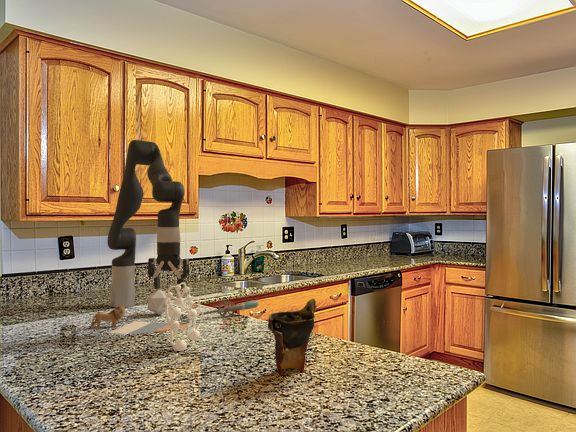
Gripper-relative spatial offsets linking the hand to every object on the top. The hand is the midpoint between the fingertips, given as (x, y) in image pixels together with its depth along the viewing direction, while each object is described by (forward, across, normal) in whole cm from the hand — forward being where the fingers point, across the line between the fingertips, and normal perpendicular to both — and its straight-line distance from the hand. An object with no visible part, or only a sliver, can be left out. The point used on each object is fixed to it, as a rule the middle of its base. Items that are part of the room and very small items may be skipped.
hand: (168, 289), depth 157 cm
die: (+14, -15, +21) cm, 29 cm away
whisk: (+15, +10, +21) cm, 28 cm away
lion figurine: (+14, -22, -1) cm, 26 cm away
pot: (+14, +50, -34) cm, 62 cm away
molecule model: (+14, +15, -20) cm, 29 cm away
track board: (+14, -11, 0) cm, 17 cm away
